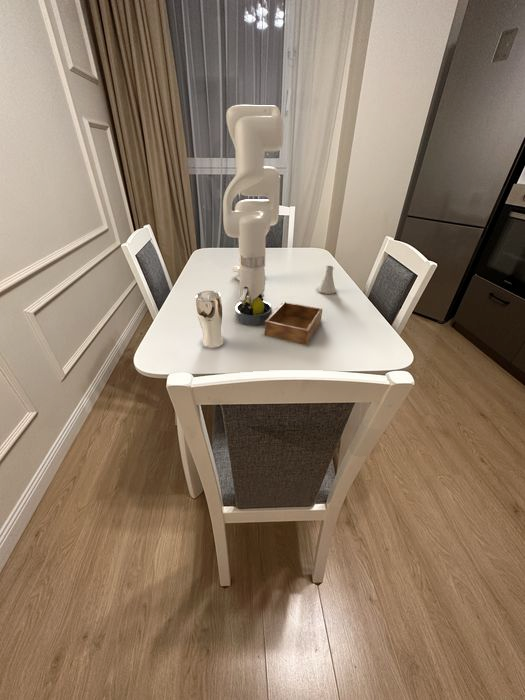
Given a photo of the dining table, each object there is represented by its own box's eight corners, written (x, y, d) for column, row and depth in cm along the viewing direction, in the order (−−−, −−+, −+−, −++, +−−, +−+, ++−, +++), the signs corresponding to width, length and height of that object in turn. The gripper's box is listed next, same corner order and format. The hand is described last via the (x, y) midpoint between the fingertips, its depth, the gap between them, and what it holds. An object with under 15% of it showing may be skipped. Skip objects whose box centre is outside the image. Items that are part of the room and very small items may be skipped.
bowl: (229, 322, 95) (228, 311, 93) (246, 307, 104) (245, 297, 102) (262, 330, 91) (262, 318, 89) (277, 314, 100) (277, 303, 98)
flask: (335, 295, 114) (339, 270, 108) (317, 293, 115) (320, 269, 109) (335, 288, 120) (339, 264, 114) (318, 286, 121) (320, 263, 115)
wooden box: (264, 335, 88) (264, 321, 85) (282, 314, 100) (283, 301, 97) (306, 345, 83) (308, 331, 81) (320, 322, 95) (322, 308, 92)
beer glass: (202, 336, 87) (196, 290, 79) (225, 335, 88) (221, 289, 79) (200, 349, 81) (193, 301, 73) (224, 348, 82) (220, 300, 73)
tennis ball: (240, 313, 99) (239, 294, 95) (259, 310, 101) (259, 291, 97) (248, 322, 93) (247, 303, 89) (267, 318, 96) (267, 299, 92)
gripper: (254, 251, 94) (254, 301, 104) (227, 267, 81) (231, 322, 91) (275, 254, 92) (273, 304, 102) (251, 271, 79) (252, 326, 89)
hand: (253, 312), depth 96 cm, fingers closed on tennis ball, 7 cm apart
